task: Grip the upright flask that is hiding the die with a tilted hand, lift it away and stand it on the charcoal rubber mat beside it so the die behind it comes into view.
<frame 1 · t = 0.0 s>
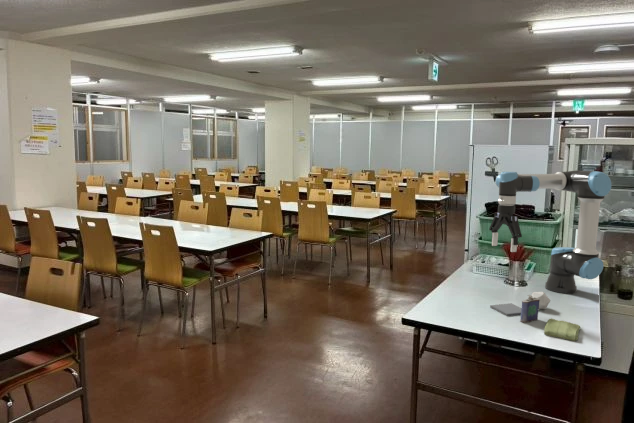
hand: (503, 248, 222), 28 cm above the table, tool pointing down, fingers open, 13 cm apart
die: (538, 308, 222), on the table
washcloth: (561, 333, 194), on the table
mat: (509, 310, 219), on the table
flask: (528, 320, 206), on the table
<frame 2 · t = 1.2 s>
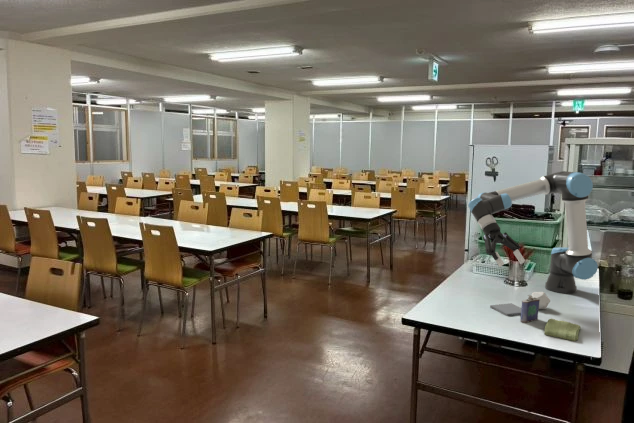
hand: (512, 264, 212), 23 cm above the table, tool tilted 45°, fingers open, 13 cm apart
nothing on the table moved.
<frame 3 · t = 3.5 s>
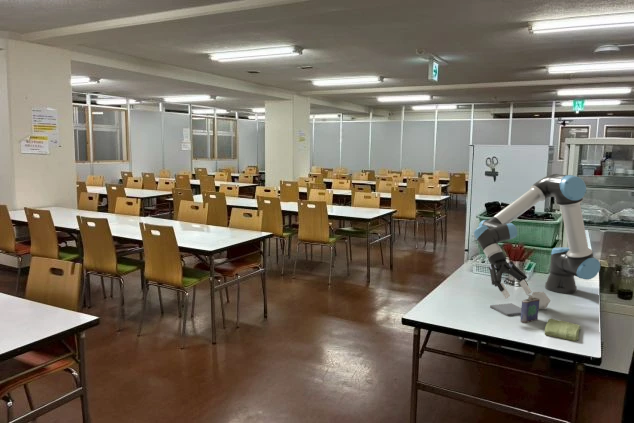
hand: (518, 295, 209), 10 cm above the table, tool tilted 45°, fingers open, 13 cm apart
nothing on the table moved.
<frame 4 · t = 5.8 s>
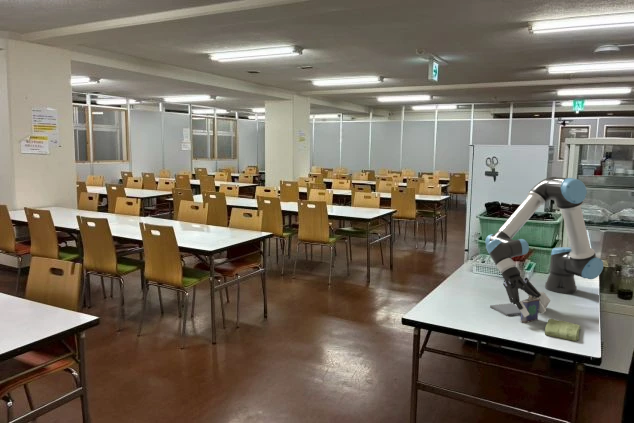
hand: (535, 314, 203), 4 cm above the table, tool tilted 45°, fingers closed on flask, 10 cm apart
flask: (528, 320, 206), on the table, touching gripper
everything else where it was.
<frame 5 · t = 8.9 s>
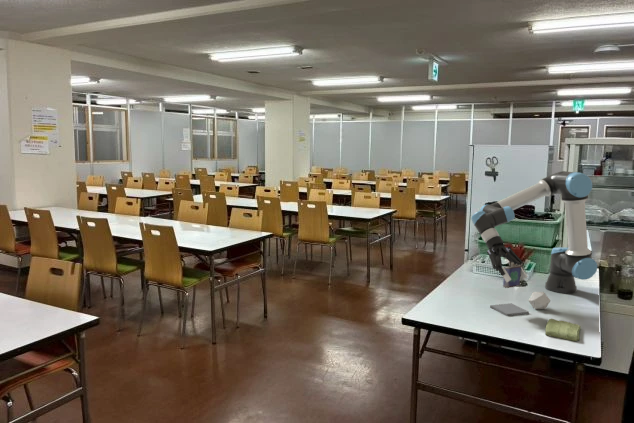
hand: (517, 279, 214), 16 cm above the table, tool tilted 45°, fingers closed on flask, 10 cm apart
flask: (511, 286, 217), point 12 cm above the table, touching gripper
everything else where it was.
when the fingers open (6 cm above the table, at t = 12.0 s): flask drops 1 cm, resting on mat.
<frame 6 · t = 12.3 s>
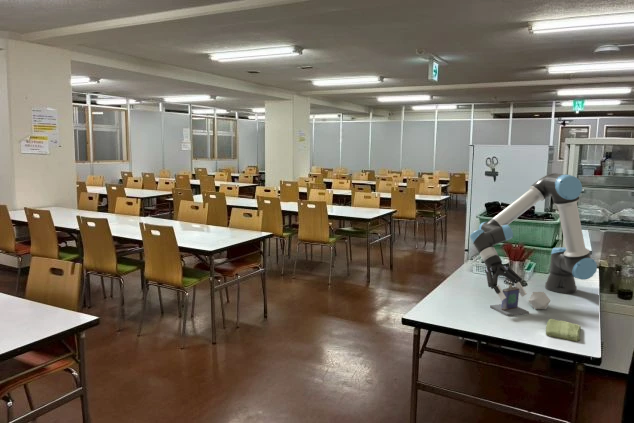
hand: (514, 297, 216), 7 cm above the table, tool tilted 45°, fingers open, 13 cm apart
flask: (509, 308, 219), point 1 cm above the table, touching mat
everything else where it was.
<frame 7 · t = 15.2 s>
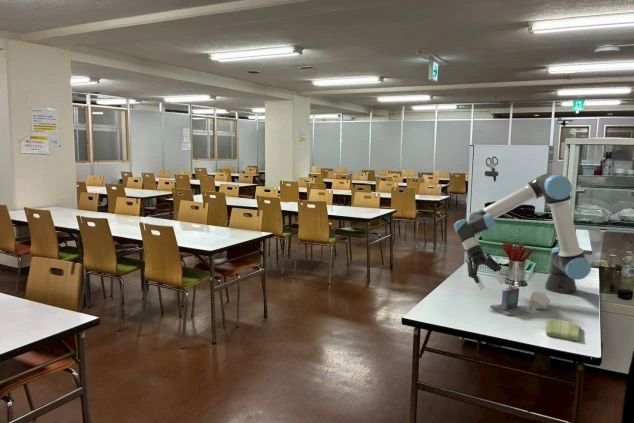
hand: (492, 286, 228), 9 cm above the table, tool tilted 40°, fingers open, 13 cm apart
nothing on the table moved.
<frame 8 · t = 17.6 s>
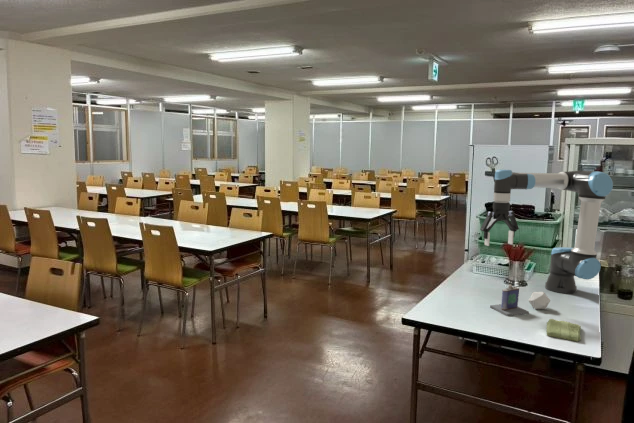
hand: (498, 244, 228), 29 cm above the table, tool pointing down, fingers open, 13 cm apart
nothing on the table moved.
at the end: flask inside the target area on the mat (0.0 cm from its centre), point 0.8 cm above the mat's base; flask tilted 0°; die moved 0.2 cm from its start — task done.
